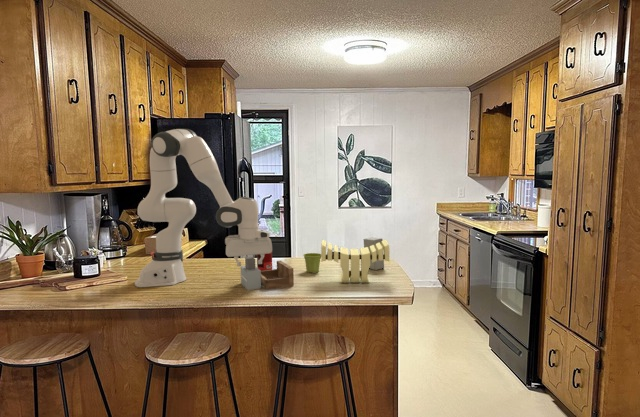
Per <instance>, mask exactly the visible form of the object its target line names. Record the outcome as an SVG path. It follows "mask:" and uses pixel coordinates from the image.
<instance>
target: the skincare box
mask: <svg viewBox="0 0 640 417" xmlns="http://www.w3.org/2000/svg"><path fill="white" fill-rule="evenodd" d="M383 240H384V239H383V238H381V237H373V236H372V237H368V238H363V248H365V247H368V249H369V252H370V254H371V251H370V246H372V245H374V247H375V249H376V244H377V243H379V242H380V244H381V241H383ZM381 246H382V245H381ZM376 253H377V249H376ZM382 268H384V269H385V259H383V260H378V259H377V261H375V262H373V263H372V260H371V259H370V269H369V270H374V271H377V270H383V269H382Z"/></svg>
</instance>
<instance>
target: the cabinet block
mask: <svg viewBox="0 0 640 417" xmlns="http://www.w3.org/2000/svg"><path fill="white" fill-rule="evenodd" d="M244 262H245V265H241V266H240V283H241V285H242V286H243V287H244V288H245V289H246V290H247V291H250V290H259V289H262V285H261V270H259V269H258V268H257V265H256V259H255V258H254V257H253V256H248V257H245V258H244Z"/></svg>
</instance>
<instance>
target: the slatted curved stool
mask: <svg viewBox="0 0 640 417" xmlns="http://www.w3.org/2000/svg"><path fill="white" fill-rule="evenodd" d="M382 240H383V241H381V244H380V242H379V243H377V244H376V249H377V253H376V249H375V247H374V245H372V246H370V251H371V254H370V252H369V249H368V247H365V248H364V247H361V248H359V249H358V248H350V249H349V248H347V247H342V246H341V247H339V246H338V245H336V244H334V248H333V243H331V242H328V241H327V240H324V239H322V241H321V247H320V249H321V250H320V251H321V253H320V254H321V259H320V263H322V262H326V261H328V262H329V261H333V262H336V263H339V260H340V265H339V266H340V268H341V271H342V273H341V274H340V283H343V284H345V283H352V284H353V283H355V284H356V283H357V284H359V283H363V284H364V283H365V284H366V283H371V282H370V279H369V270H370V269H369V268H370V259H371V260H372V263H373V262H375V261H377V259H378V260H383V259H384V262H390V244H389V242H388V241H387V239H382ZM327 242H328V243H327ZM381 245H382V246H381ZM339 248H340V250H339ZM339 253H340V254H339ZM349 253H350V254H349ZM360 269H361V270H360ZM360 281H361V282H360Z"/></svg>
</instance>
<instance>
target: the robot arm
mask: <svg viewBox="0 0 640 417" xmlns="http://www.w3.org/2000/svg"><path fill="white" fill-rule="evenodd" d="M149 152H150V153H149V171H150V172H149V173H150V189H149V192H148V193H147V195H146V196H145V197H144V199H142V200H141V201H140V202H139V203H138V206H137V214H138V217H139V219H141V221H143V222H152V223H161V222H162V223H163V222H164V223H165V222H167V223H168V226H167V227H166V228H164V229H162V230H160V231H159V232H158V233H157V234H156V236H155V250H156V251H151V253H150V256H151V261H150V262H148V264H146V265H144V266H143V267H142V268H141V271H139V278H138V279H135V281H134V286H135V287H136V288H148V287H150V288H151V287H162V286H163V287H164V286H174V285H176V284H178V283H181V282H184V281H186V280H187V276H186V273H185V269H184V265H183V262H184V252H183V249H182V235H183V231H184V228H185V227H186V225H187V224H188V223H189V222H190V221H191V220H193V218H194V217H195V215H196V214H197V207H196V204H195V202H194V201H193V200H192V199H190V198H186V197H185V198H184V197H166V194H167V193H168V192H170V191H172V190H174V189H175V188H176V187H177V185H178V174H177V165H176V158H177V156H182V157H184V158H185V160H186V162H187V163H188V167H189V169H190V171H192V174H193V175H194V177H195V178H196V180H198V181H199V182H201V183H202V184H204V185H205V186H207V187H208V188H209V190H211V192H212V194H213V196H214V198H215V200H216V202H217V204H218V205H219V208H218V209H217V211H216V213H215V220H216V222H217V224H218V225H219V226H221V227H223V228H233V226H234V227H236V226H237V227H238V234H229V235H228V236H226V237H225V239H224V244H225V245H226V246H225V255H226V256H227V257H228V258H232V257H233V258H234V260H235V261H236V266H237V267H241V266H242V262H241V261H239V257H242V256H243V257H246V256H254V255H255V256H257V254H260V256H261V258H260V260H258V264H262V260H263V258H264V254H268V253H271V252H272V253H273V244H272V239H271V238H270V236H271V235H270V232H268V231H265V230H262V229H260V226H259V222H258V221H259V218H260V217H259V215H260V214H259V206H258V201H257V200H256V199H255V198H252V197H247V196H240V197H239V198H237V199H236V200H233V199H232V196H231V194H230V192H229V191H228V189H227V187H226V185H225V183H224V181H223V178H222V174H221V172H220V169H219V166H218V163H217V160H216V158H215V156H214V155H213V152H212V150H211V148H210V147H209V146H208V144H207V142H206V141H205V140H204V139H203V138H202V137H201V136H198V135H197V134H196V132H194V131H193V130H191V129H189V128H176V129H175V128H173V129H170V130H166V131H160V132H158V133H156V134H155V135H153V137H152V139H151V148H150V151H149Z"/></svg>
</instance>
